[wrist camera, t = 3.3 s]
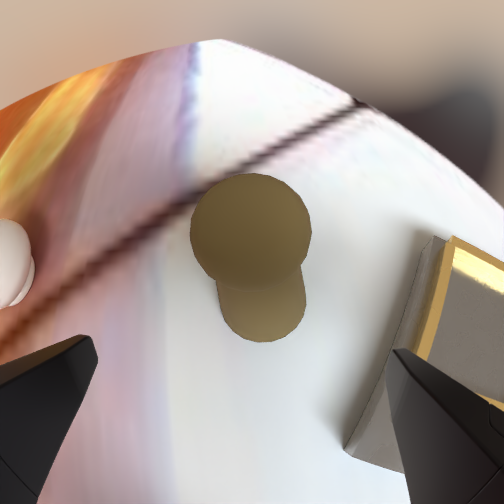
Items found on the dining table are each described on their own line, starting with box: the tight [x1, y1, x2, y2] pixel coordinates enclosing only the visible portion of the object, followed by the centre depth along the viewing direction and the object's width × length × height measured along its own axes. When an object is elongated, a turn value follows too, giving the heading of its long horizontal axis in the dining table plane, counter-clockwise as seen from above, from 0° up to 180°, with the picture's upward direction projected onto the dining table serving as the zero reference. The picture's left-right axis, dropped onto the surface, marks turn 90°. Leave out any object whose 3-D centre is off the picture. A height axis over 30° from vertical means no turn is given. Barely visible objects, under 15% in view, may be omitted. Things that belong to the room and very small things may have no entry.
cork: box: [190, 173, 312, 342], centre depth 17 cm, size 6×6×11 cm
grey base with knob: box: [344, 235, 504, 474], centre depth 15 cm, size 16×12×4 cm
